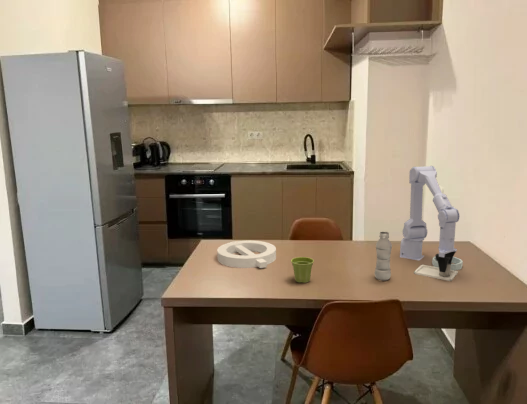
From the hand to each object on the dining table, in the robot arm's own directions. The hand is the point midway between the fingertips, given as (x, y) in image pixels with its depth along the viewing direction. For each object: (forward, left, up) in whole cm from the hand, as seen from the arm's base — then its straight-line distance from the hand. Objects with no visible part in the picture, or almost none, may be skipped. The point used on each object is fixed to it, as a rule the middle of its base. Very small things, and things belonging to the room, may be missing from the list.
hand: (444, 269), depth 183 cm
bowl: (-2, +13, -3) cm, 13 cm away
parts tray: (-4, 0, -3) cm, 5 cm away
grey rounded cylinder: (0, 0, -3) cm, 3 cm away
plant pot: (-47, -36, -4) cm, 60 cm away
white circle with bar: (-84, -27, -4) cm, 88 cm away
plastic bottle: (-20, -17, -4) cm, 27 cm away
